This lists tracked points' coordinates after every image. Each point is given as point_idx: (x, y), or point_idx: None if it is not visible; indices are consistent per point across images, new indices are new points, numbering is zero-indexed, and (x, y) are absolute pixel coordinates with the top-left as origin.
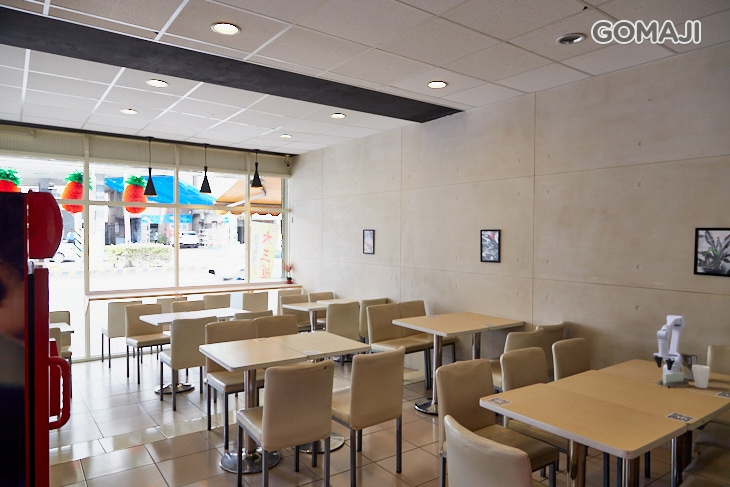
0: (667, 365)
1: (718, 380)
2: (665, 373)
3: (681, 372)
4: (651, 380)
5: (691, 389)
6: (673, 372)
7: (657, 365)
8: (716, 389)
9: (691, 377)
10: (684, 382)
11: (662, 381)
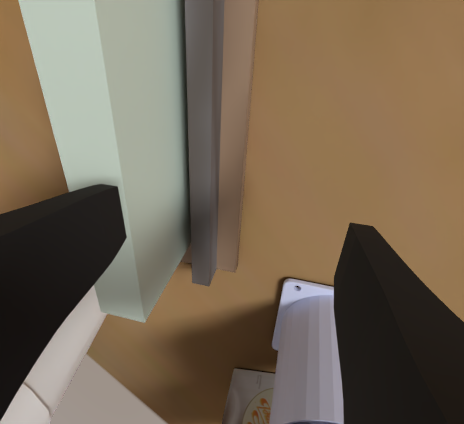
0: (12, 224)
1: (178, 419)
2: (91, 59)
3: (110, 305)
4: (435, 79)
5: (25, 145)
6: (129, 239)
7: (389, 247)
8: None
9: (240, 382)
10: None
11: (187, 7)
